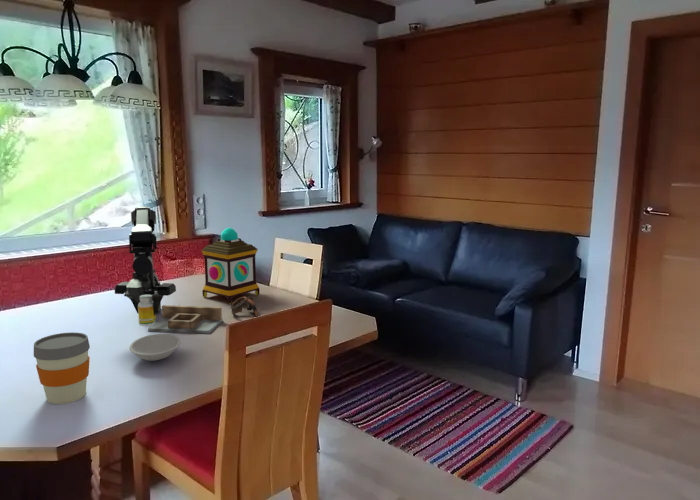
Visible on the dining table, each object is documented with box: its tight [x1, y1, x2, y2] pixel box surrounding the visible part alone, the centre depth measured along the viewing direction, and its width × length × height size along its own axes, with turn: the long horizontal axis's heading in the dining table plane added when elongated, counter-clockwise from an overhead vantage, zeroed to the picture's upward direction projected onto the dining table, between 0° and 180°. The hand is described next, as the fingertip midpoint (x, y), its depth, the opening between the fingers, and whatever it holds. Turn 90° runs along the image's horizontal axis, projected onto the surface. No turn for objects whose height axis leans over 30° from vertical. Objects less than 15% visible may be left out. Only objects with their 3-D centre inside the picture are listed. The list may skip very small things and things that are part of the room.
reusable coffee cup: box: [33, 331, 91, 405], centre depth 137 cm, size 13×13×15 cm
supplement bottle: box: [137, 295, 157, 327], centre depth 179 cm, size 5×5×10 cm
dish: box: [129, 333, 181, 362], centre depth 162 cm, size 18×14×5 cm
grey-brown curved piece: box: [230, 296, 259, 317], centre depth 207 cm, size 12×10×8 cm
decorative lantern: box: [201, 227, 260, 305], centre depth 229 cm, size 20×20×30 cm
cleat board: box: [147, 304, 224, 335], centre depth 193 cm, size 22×14×6 cm, turn 85°
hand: (146, 313), depth 180 cm, fingers closed on supplement bottle, 5 cm apart
